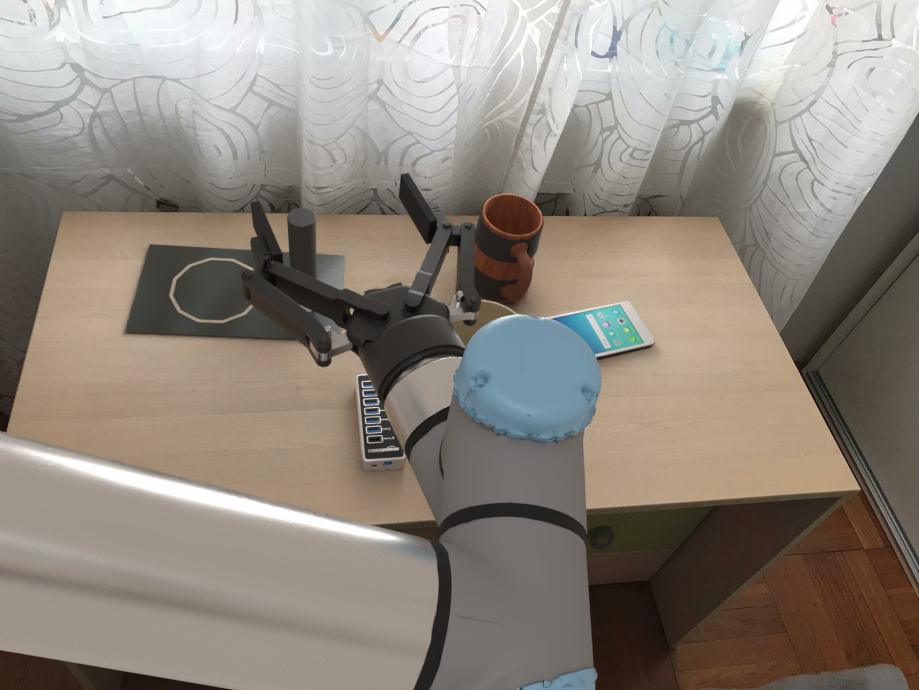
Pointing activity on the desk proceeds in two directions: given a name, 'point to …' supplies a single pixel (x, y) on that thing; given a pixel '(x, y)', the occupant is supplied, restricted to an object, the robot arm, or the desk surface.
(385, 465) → the multiport hub
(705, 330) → the desk surface
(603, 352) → the smartphone
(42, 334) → the desk surface
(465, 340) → the flower pot
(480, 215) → the mug
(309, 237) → the cylinder
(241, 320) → the board
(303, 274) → the robot arm
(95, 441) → the desk surface
